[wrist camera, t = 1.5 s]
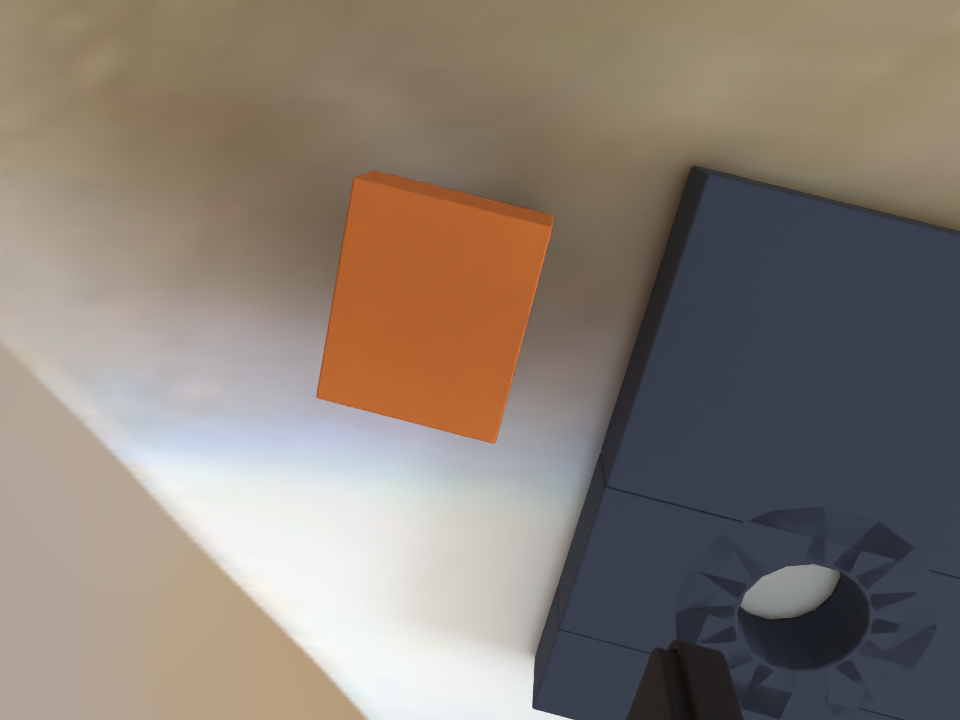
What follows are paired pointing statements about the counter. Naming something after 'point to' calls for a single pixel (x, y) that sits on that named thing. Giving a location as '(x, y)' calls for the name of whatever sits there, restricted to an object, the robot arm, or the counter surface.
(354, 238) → the top pad
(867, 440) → the base pad
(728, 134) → the counter surface
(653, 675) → the robot arm
